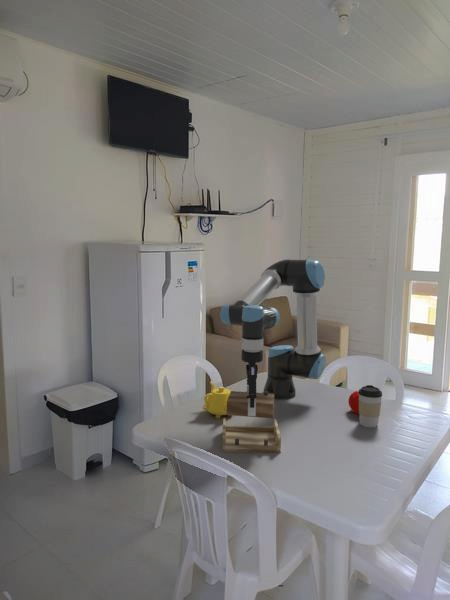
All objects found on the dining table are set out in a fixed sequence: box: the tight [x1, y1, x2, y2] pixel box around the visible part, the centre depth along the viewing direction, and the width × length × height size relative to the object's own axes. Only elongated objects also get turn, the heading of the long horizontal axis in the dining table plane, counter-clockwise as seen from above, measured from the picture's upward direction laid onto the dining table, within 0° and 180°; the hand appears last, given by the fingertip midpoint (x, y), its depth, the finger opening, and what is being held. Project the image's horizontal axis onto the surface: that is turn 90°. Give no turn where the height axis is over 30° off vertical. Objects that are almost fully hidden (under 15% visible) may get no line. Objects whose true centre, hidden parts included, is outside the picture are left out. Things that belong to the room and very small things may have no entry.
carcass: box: [221, 417, 282, 454], centre depth 162 cm, size 16×20×6 cm
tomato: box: [347, 390, 359, 416], centre depth 191 cm, size 11×12×9 cm
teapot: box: [202, 380, 233, 419], centre depth 187 cm, size 20×15×12 cm
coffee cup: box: [358, 384, 383, 428], centre depth 178 cm, size 9×9×15 cm
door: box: [226, 390, 275, 419], centre depth 160 cm, size 11×16×6 cm
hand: (250, 409), depth 160 cm, fingers closed on door, 11 cm apart
